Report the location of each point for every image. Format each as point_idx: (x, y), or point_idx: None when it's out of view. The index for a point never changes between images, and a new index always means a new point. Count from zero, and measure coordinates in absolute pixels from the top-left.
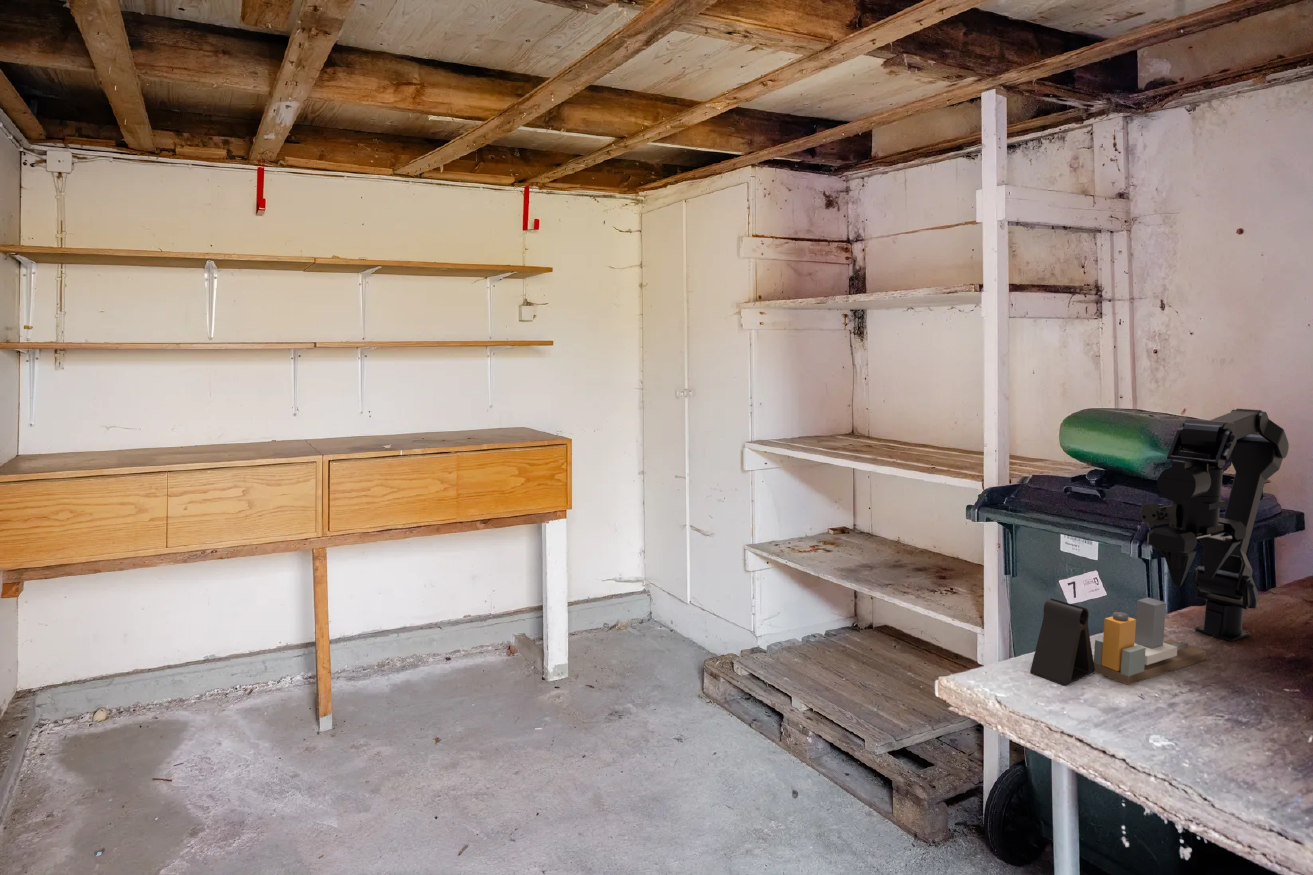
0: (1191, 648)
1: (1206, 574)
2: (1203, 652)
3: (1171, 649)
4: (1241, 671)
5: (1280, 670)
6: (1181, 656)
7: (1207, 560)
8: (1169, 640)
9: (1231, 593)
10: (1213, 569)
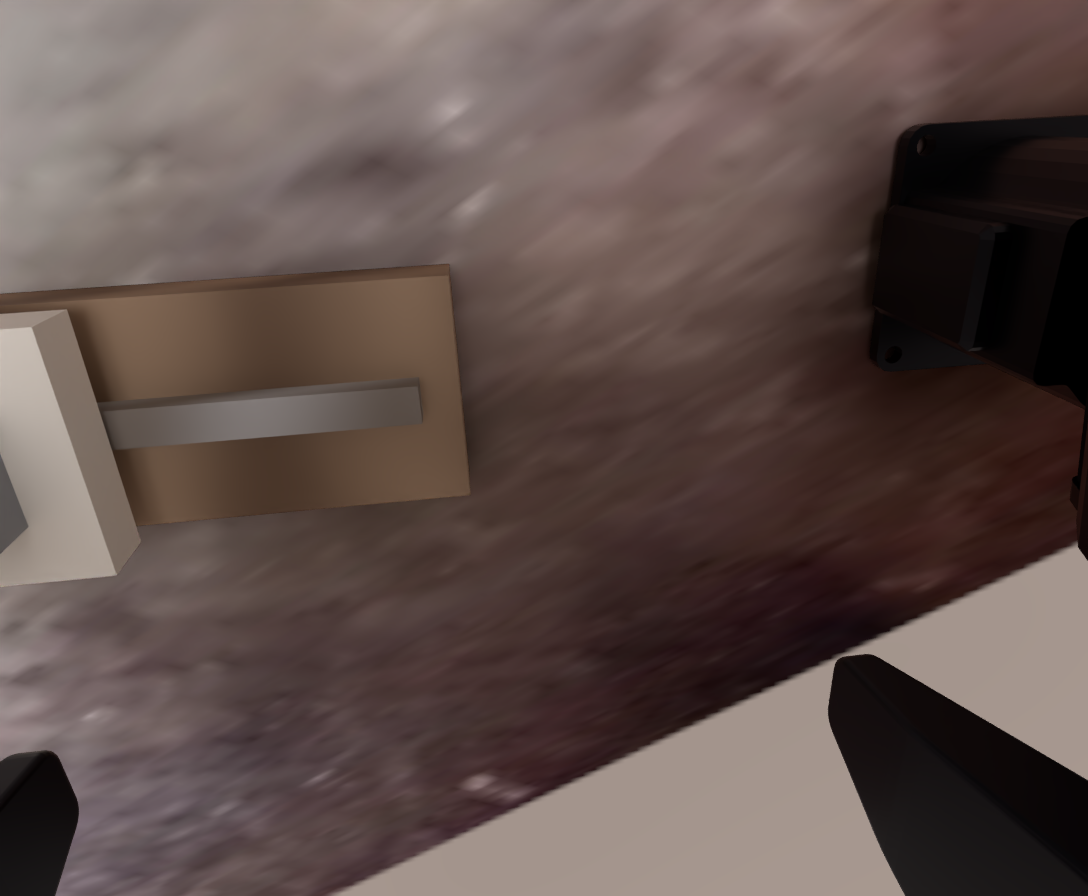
0: (428, 435)
1: (857, 694)
2: (442, 497)
3: (46, 580)
4: (493, 622)
5: (672, 668)
6: (244, 494)
7: (1036, 891)
8: (421, 285)
9: (1080, 523)
10: (902, 854)
